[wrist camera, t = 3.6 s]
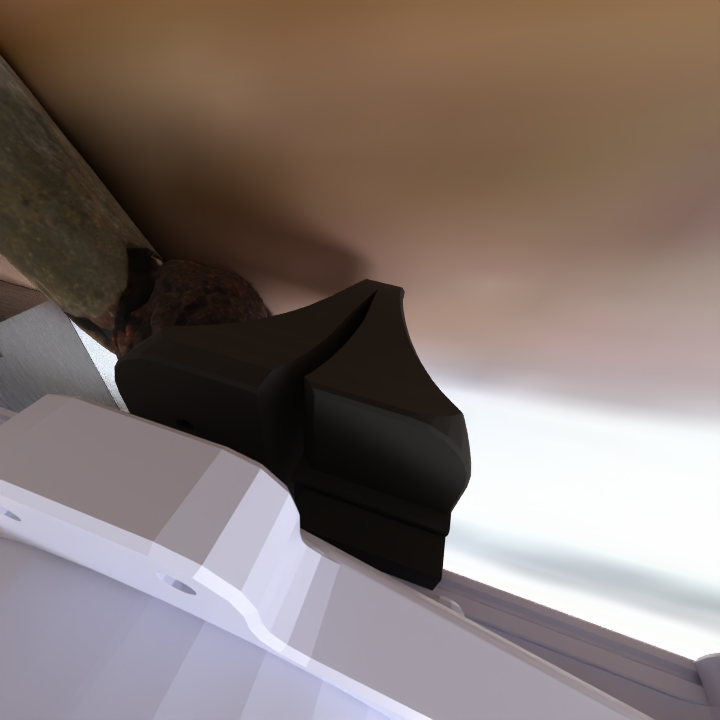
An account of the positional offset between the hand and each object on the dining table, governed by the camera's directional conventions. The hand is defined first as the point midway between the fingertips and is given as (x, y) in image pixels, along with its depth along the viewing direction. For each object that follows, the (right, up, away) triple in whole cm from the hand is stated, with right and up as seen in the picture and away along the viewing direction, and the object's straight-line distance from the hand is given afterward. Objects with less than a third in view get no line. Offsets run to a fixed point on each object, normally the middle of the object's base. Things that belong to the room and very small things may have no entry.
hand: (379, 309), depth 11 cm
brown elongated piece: (-8, +2, +4) cm, 9 cm away
